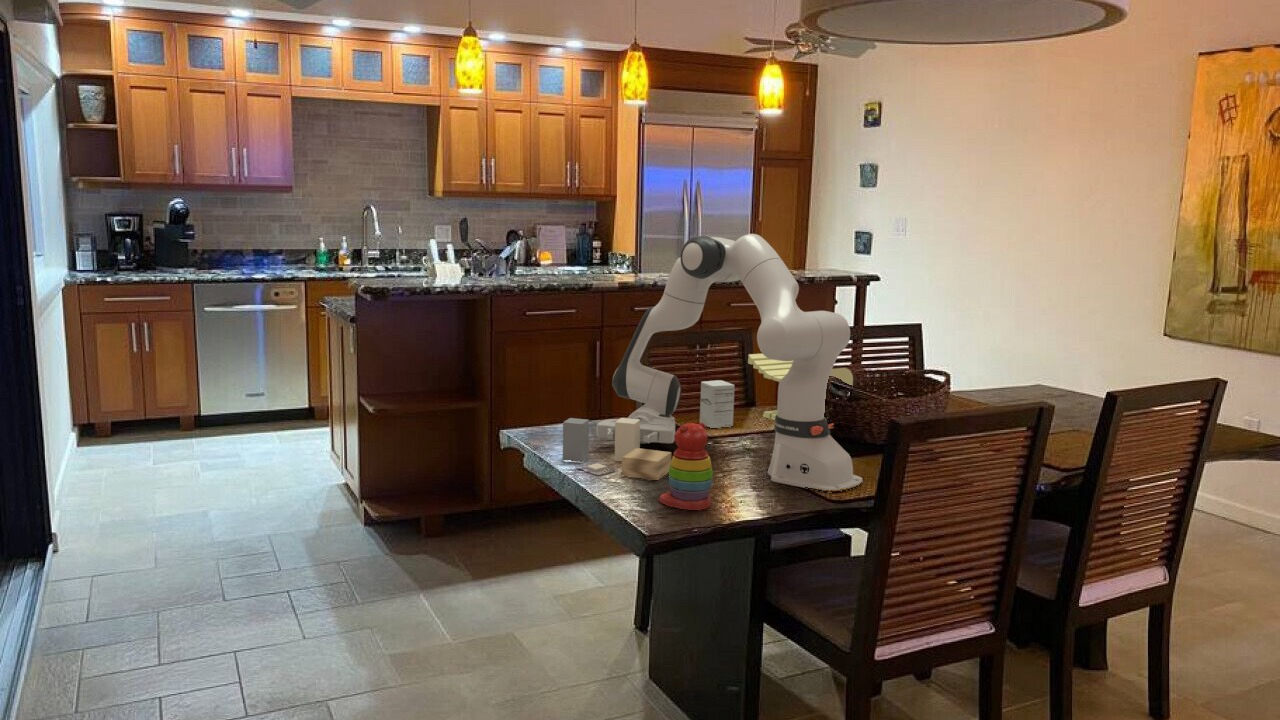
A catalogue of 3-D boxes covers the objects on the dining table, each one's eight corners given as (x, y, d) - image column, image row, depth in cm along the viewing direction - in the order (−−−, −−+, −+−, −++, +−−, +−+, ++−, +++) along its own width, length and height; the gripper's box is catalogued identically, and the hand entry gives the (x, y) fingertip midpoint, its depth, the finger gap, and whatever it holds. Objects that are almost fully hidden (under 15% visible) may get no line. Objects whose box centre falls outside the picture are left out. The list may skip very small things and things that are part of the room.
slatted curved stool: (850, 427, 277) (853, 367, 274) (805, 432, 270) (809, 370, 267) (788, 406, 304) (790, 351, 301) (746, 411, 296) (748, 354, 293)
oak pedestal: (671, 472, 229) (671, 452, 228) (657, 482, 221) (658, 461, 220) (636, 467, 232) (636, 448, 232) (621, 477, 224) (622, 457, 223)
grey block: (588, 458, 239) (588, 419, 237) (581, 463, 234) (582, 424, 233) (569, 456, 240) (569, 418, 239) (562, 461, 236) (562, 422, 234)
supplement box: (698, 423, 278) (700, 381, 276) (721, 421, 281) (722, 379, 279) (711, 429, 272) (712, 385, 270) (733, 427, 275) (735, 384, 273)
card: (617, 471, 228) (617, 467, 228) (598, 476, 224) (598, 472, 224) (594, 464, 234) (594, 460, 234) (576, 468, 230) (576, 464, 229)
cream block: (639, 458, 240) (640, 419, 239) (633, 463, 236) (634, 423, 234) (620, 456, 242) (621, 417, 240) (614, 461, 237) (615, 422, 235)
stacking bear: (697, 494, 212) (700, 415, 209) (723, 507, 203) (725, 425, 200) (655, 500, 207) (657, 420, 204) (679, 514, 198) (681, 430, 195)
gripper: (605, 411, 253) (588, 422, 240) (680, 417, 248) (667, 429, 235) (605, 434, 254) (588, 447, 241) (679, 441, 249) (666, 454, 236)
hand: (627, 438), depth 238 cm, fingers open, 8 cm apart
